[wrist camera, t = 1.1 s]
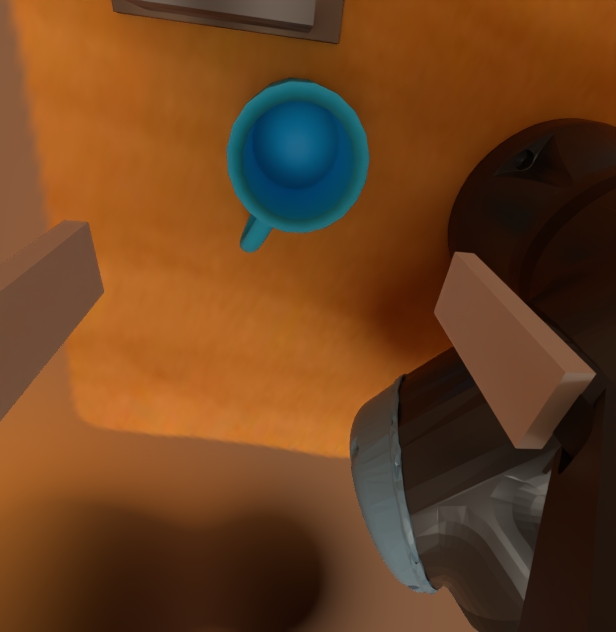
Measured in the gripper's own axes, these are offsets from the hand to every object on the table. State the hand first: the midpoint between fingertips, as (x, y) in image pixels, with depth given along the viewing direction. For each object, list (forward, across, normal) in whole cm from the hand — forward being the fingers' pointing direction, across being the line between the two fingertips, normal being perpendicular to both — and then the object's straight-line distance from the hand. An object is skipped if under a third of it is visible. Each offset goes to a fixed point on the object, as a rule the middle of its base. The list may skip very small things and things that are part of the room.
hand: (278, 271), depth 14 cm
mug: (+18, 0, 0) cm, 18 cm away
